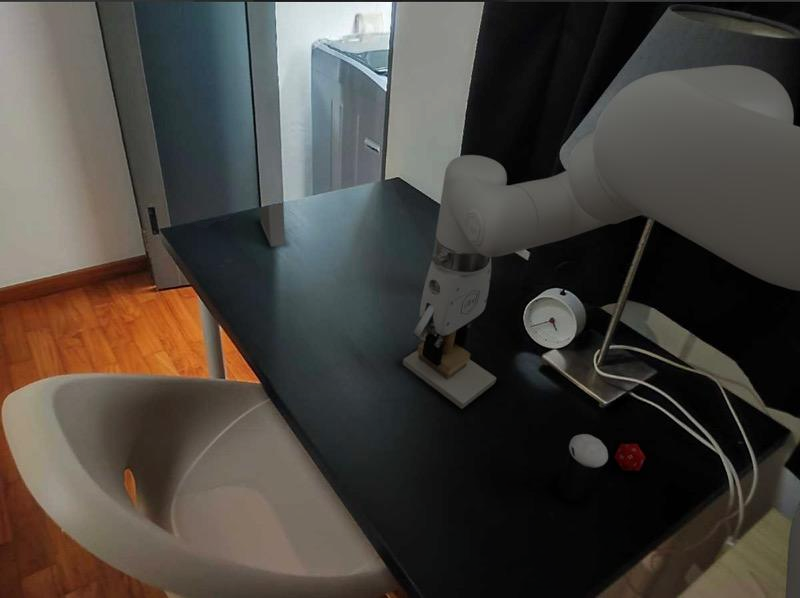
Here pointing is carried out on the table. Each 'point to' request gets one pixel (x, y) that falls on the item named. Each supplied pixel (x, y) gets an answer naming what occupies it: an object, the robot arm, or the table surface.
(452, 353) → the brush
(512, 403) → the table surface
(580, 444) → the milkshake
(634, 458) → the die
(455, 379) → the tile
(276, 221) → the gravestone
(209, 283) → the table surface
